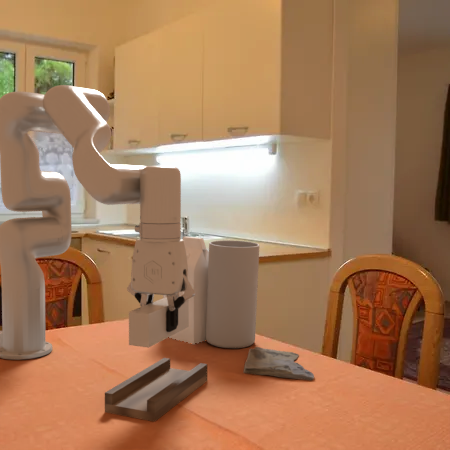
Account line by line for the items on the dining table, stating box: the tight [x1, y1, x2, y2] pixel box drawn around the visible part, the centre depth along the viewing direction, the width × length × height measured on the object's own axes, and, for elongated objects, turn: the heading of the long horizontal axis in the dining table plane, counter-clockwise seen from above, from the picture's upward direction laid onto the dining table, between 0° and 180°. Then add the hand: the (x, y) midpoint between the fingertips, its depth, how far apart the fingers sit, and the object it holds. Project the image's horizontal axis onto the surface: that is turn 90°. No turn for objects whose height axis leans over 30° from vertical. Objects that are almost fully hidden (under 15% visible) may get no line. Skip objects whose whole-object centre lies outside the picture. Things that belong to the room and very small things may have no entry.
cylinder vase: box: [206, 239, 260, 349], centre depth 146 cm, size 12×12×25 cm
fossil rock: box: [243, 346, 315, 381], centre depth 130 cm, size 18×15×2 cm
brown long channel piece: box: [104, 357, 208, 422], centre depth 111 cm, size 10×22×4 cm, turn 158°
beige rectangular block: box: [128, 297, 189, 348], centre depth 110 cm, size 4×16×6 cm, turn 158°
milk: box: [162, 236, 209, 345], centre depth 153 cm, size 12×12×26 cm
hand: (160, 327), depth 110 cm, fingers closed on beige rectangular block, 4 cm apart
